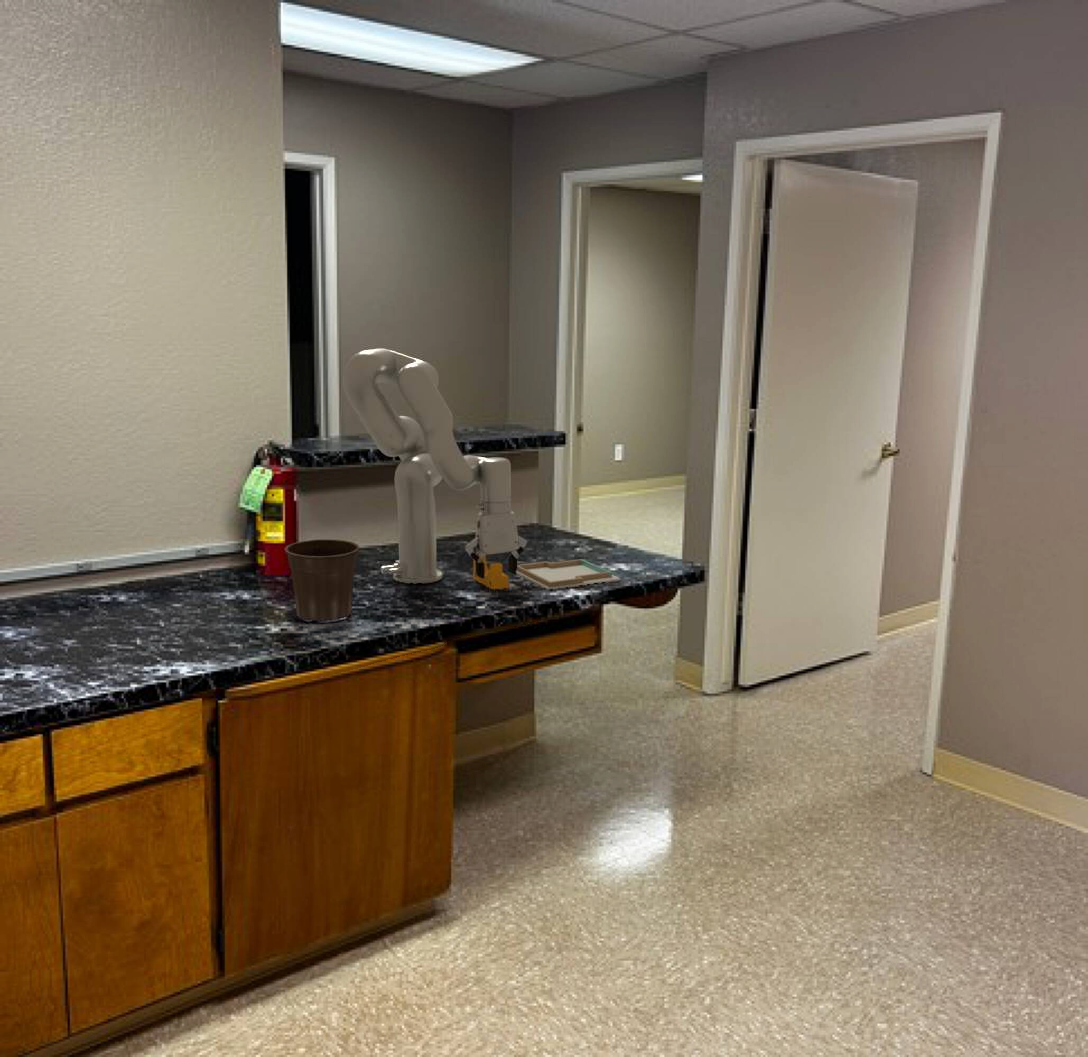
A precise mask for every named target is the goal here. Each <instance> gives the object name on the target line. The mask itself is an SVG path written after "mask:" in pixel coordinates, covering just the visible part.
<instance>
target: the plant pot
mask: <svg viewBox="0 0 1088 1057" xmlns="http://www.w3.org/2000/svg"><path fill="white" fill-rule="evenodd" d="M359 550H360V545H359V544H357V543H355V542H354V541H349V540H344V539H343V540H342V539H328V538H327V539H326V538H325V539H323V538H322V539H310V540H304V541H298V542H297V541H296V542H294V543H293V542H292V543H291V544H289V545H286V547H284V552H285V553H286V554H287V559H288V565H289V568H290V571H291V579H292V587H293V595H294V602H295V611H296V613H295V614H296V617H297V616H298V617H299V618H302V619H305V620H316V621H320V620H321V621H327V620H336V619H340V618H344V617H347V616H349V615H350V614H351V615H352V610H353V609H352V607H353V593H354V592H353V591H354V577H355V566H357V557H358V551H359ZM349 617H350V616H349ZM316 621H315V622H316Z"/></svg>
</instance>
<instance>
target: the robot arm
mask: <svg viewBox="0 0 1088 1057" xmlns="http://www.w3.org/2000/svg"><path fill="white" fill-rule="evenodd" d="M439 379H440V378H439V373H438V371H437V369H436V368H435V367H434V366H433V365H432V364H430V362H429V363H428V362H426V361H423V360H421V359H418V358H414V357H411V356H408V355H406V354H403V353H400V352H397V351H394V350H392V349H391V350H390V349H387V348H373V349H367V350H366V349H365V350H361V351H359V352H356V353H355V354H354V355H352V357H350V359H349V360H348V362H347V363H346V365H345V368H344V369H343V373H342V388H343V391H344V394H345V397H346V398H347V400H348V402H349V404H350V406H351V407H352V409H353V410H354V411H355V413H356V414H357V416H358V418H359V419H360V421H361V422H362V425H363V426H364V428H365V430H366V431H367V432H368V434H369V436H370V437H371V439H372V440H373V442H374V444H375V445H376V447H377V449H378V450H379V451H380V452H381V453H382V454H383V455H385V456H387V457H391V458H393V457H395V458H396V457H399V459H400V460H401V462H400V463H399V464H398V466H397V467H396V469H395V474H394V488H395V492H396V493H395V494H396V500H397V501H396V502H397V504H396V505H397V520H398V521H397V524H398V525H397V526H398V530H397V532H398V560H397V559H396V560H395V563H393V564H392V565H382V566H380V572H381V574H382V575H383V574H389V575H393V576H392V577H393V579H394V581H396V582H398V581H399V582H398V583H402V582H403V583H404V584H410V583H413V584H416V585H417V583H422V584H430V583H435V582H438V581H440V580H442V579H443V577H444V576H443V574H444V573H443V571H441V570H439V569H438V568H437V518H436V515H437V514H436V512H437V511H436V502H435V495H434V487H436V486H437V485H438V484H439V483H441V482H442V480H443V482H444V483H445V484H446V485H447V487H449V488H451V489H453V490H454V491H464V490H467V489H469V488H471V487H472V486H475V485H478V484H480V500H479V504H476V505H475V510H477V511H480V512H479V513H478V515H477V522H476V529H475V538H473V539H472V540H471V541H470V542H468V544H466V545H465V546H464V549H465V552H466V553H467V554H468V556H469V557H470V558H471V559H472V560H473V559H474V561H475V562H476V574H477V576H478V577H480V578H484V577H485V573H484V563H483V559H484V558H485V556H486V557H487V555H495V554H504V553H505V554H506V553H508V554H509V556H508V561H507V562H508V565H507V566H508V572H509V573H511V574H512V575H517V574H516V570H517V565H518V559H519V558H520V555H521V554H522V553H523V551H524V548H525V547H526V545H527V543H528V540H527V539H525V538H524V537H522V536H520V535H518V527H517V526H518V525H517V524H518V523H517V519H516V515H515V512H514V511H512V484H511V483H512V476H511V474H512V473H511V472H512V471H511V470H512V467H511V464H512V463H511V462H510V460H509V459H508V458H505V457H497V456H495V457H494V456H493V457H482V456H476V455H472V454H471V455H470V454H468V455H463V454H462V452H461V450H460V448H459V445H458V444H457V442H456V439H455V436H454V430H453V426H454V417H453V413H452V411H451V409H450V408H449V405H448V404H447V403H446V401H445V398H444V397H443V396H442V394H441V393H440V390H439V389H438V387H439V386H438V385H439V384H440V383H439V382H440V380H439ZM380 383H384V384H387V385H391V386H394V387H396V388H397V390H398V391H399V393H400V395H401V396H402V398H403V400H404V401H405V403H406V405H407V407H408V408H409V409H410V412H411V413H412V415H413V417H414V418H412V417H410V416H407V415H406V416H405V415H399V414H398V413H397V411H396V410H395V409H394V407H393V405H392V404H391V402H390V400H389V399H388V398H387V396H386V395H385V394H384V393H383V392H382V391H381V390H380V388H379V386H378V384H380ZM474 548H475V550H476V551H477V552H475V551H474Z"/></svg>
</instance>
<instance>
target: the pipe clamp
mask: <svg viewBox="0 0 1088 1057" xmlns="http://www.w3.org/2000/svg"><path fill="white" fill-rule="evenodd" d="M472 560H473V580H474V581H476V582H478V583H480V584H481V583H482V584H481V585H483V584H484V586H485V585H486V586H485V587H487V588H488V587H489V588H488V589H490V588H491V589H490V590H492V589H494V590H493V591H496V590H495V589H499V590H504V589H503V588H507V589H510V587H509V586H510V577H509V575H507V574H506V573H504V572H503V563H501V562H494V563H493V562H491V563H489V566H488V564H487V555H486V556H485V558H484V559H483V563H484V573H485V577H484V578H480V577H478V576H477V574H476V562H475V561H474V559H473V558H472Z"/></svg>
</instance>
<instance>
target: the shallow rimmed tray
mask: <svg viewBox="0 0 1088 1057" xmlns="http://www.w3.org/2000/svg"><path fill="white" fill-rule="evenodd" d="M515 575H518V576H520V577H521V578H523V579H525V580H527V581H529V582H531V583H532V584H535V585H537V586H539V585H540V586H539V587H541V588H543V589H544V588H545V590H546V589H547V591H550V590H549V589H553V590H559V589H558V588H561V589H567V588H566V587H568V588H574V587H580V586H579V585H583V586H588V585H587V584H590V585H595V584H594V583H598V584H603V583H602V582H605V583H611V582H618V581H621V578H620V577H618V576H617V575H614V574H613V572H612V571H610V570H608V569H606V568H603V567H601V566H599V565H597V564H594V563H592V562H590V561H587V560H585V559H582V558H580V559H572V560H564V561H557V562H556V561H555V562H549V561H547V560H545V561H538V562H530V563H522V564H521V563H520V564H517V570H516V574H515Z"/></svg>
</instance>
